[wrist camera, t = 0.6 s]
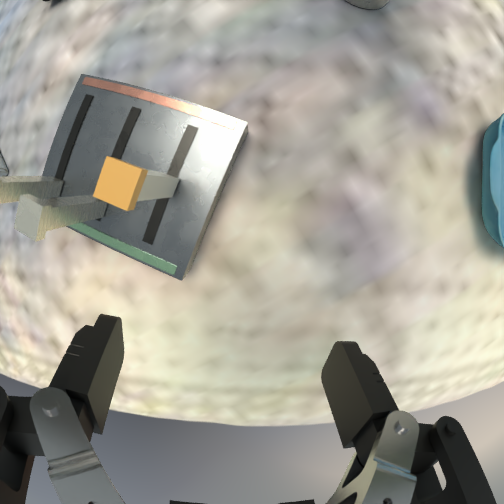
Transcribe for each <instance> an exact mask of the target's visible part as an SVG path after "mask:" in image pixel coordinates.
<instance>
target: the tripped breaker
mask: <svg viewBox="0 0 504 504" xmlns="http://www.w3.org/2000/svg"><path fill="white" fill-rule="evenodd" d="M178 182H179V179H178V178H176V177H173V176H171V175H168V174H165V173H163V172H158V171H152V170H146V169H144V168H141V167H138V166H136V165H133V164H130V163H128V162H125V161H123V160H120V159H117V158H114V157H109V156H107V157H106V159H105V162H104V165H103V168H102V170H101V173H100V176H99V179H98V182H97V185H96V188H95V191H94V194H93V197H96V198H98V199H100V200H103V201H105V202H107V203H110V204H112V205H114V206H116V207H119V208H121V209H123V210H126V211H130V210H134V208H135V205H136V202H137V201H144V200H152V199H161V198H170V197H173V194H174V192H175V189H176V187H177V184H178Z"/></svg>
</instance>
